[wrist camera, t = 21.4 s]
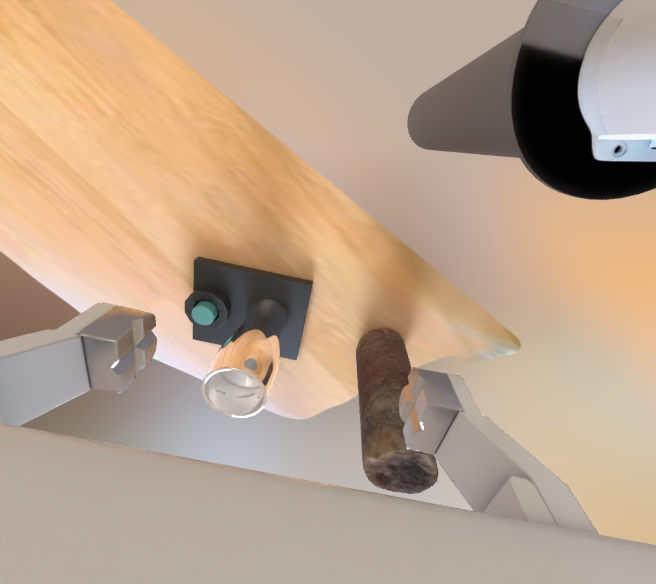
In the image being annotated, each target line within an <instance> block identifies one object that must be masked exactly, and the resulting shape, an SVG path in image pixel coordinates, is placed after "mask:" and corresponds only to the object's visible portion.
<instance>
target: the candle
mask: <svg viewBox="0 0 656 584" xmlns="http://www.w3.org/2000/svg"><path fill="white" fill-rule="evenodd" d="M356 361H357V378H358V391H359V406H360V423H361V442H362V460H363V468H364V471H365V474H366V476H367V477H368V479H369V481H370V482H371V483H373V484H374V485H375V486H377V487H379V488H382V489H386V490H389V491H393V492H401V493H408V494H414V493H420V492H422V491H424V490H426V489H428V488H430V487H431V486H433V485H434V484H435V482H437V477H438V468H437V463H436V459H435V457H434V455H432V454H427V453H423V452H418V451H414V450H409V449H407V448H406V443H405V438H404V434H403V428H404V426H405V422H404V421H403V420H402V419H401V418H400V413H399V400H400V395H401V392H402V390H403V387H405V386H407V385H408V384H409V380H408V375H409V373H410V371H411V366H410V361H409V358H408V354H407V351H406V347H405V344H404V341H403V338H402V337H401V335H400V334H398V333H397V332H395V331H394V330H391V329H379V330H372V331H370V332H368V333H366V334H365V335H364V336H363V337H362V338H361V339H360V341H359V343H358V346H357V349H356Z"/></svg>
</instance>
